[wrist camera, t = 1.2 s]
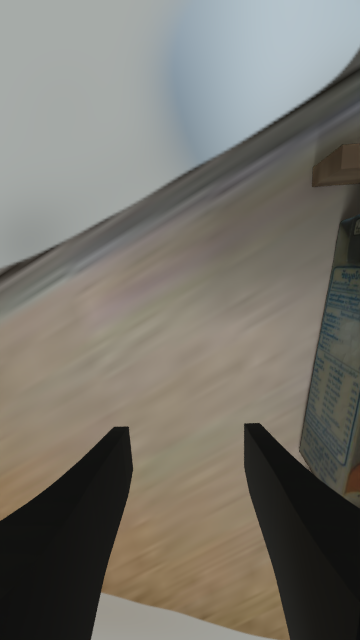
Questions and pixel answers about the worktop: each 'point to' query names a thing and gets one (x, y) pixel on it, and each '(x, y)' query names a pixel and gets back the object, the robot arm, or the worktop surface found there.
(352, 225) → the beverage carton
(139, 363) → the worktop surface
